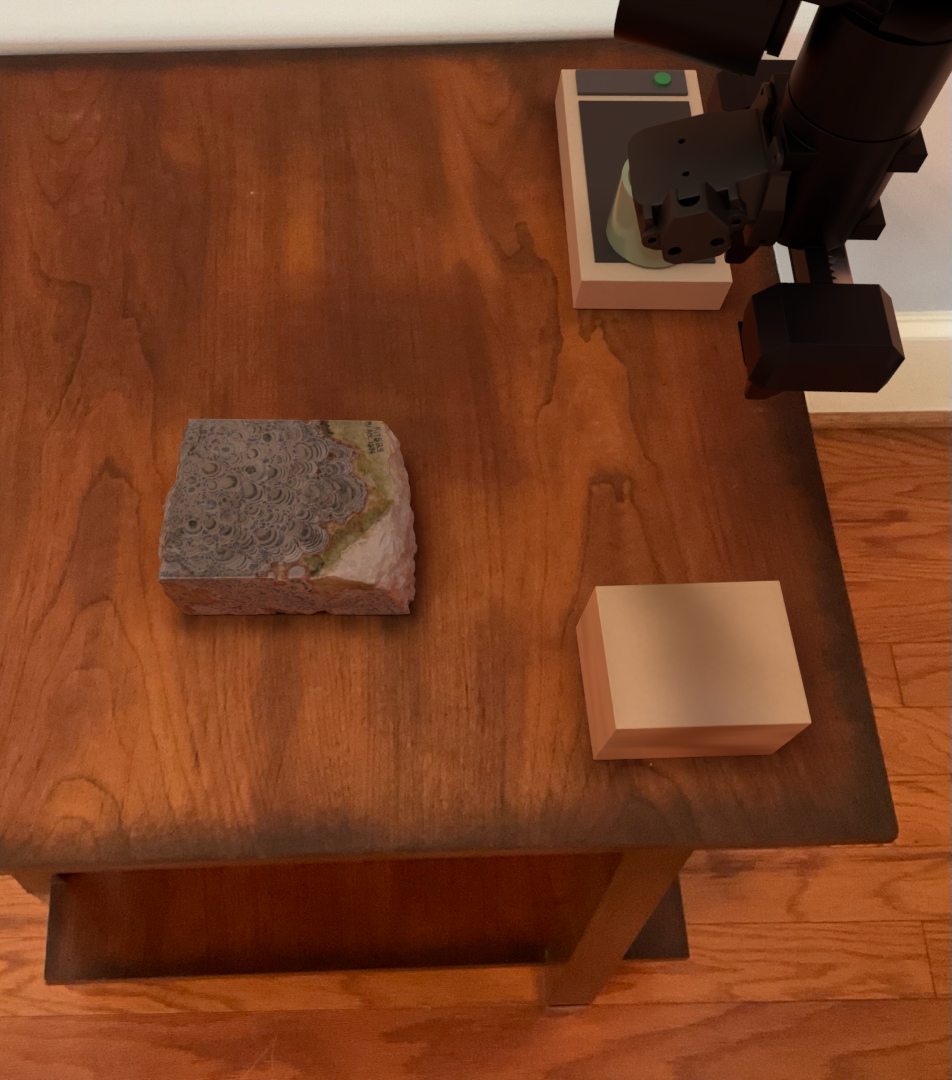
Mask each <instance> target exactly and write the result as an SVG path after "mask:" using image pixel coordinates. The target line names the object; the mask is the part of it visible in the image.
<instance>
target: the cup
mask: <svg viewBox="0 0 952 1080" xmlns="http://www.w3.org/2000/svg"><path fill="white" fill-rule="evenodd" d="M606 235H607V238H608V241H609V243H610V245H611V246H612V248H613V249H614V250H615V251H616V252H617V253H618V254H619V255H620V256H621V257H623V258H624V259H626V260H628V261H629V262H632V263H634V264H637V265H640V266H644V267H652V268H659V267H667V266H671V265H674V264H671V263H668V262H666V261H664V259H663V255H662V250H652V249H649V248H646V247H644V246H643V245H642V242H641V236H640V231H639V226H638V221H637V216H636V211H635V206H634V202H633V197H632V190H631V180H630V170H629V161H628V159H627V161H626V162H625V164H624V166H623V169H622V173H621V176H620V179H619V183H618V186H617V190H616V193H615V197H614V200H613V203H612V207H611V210H610V214H609V217H608V221H607V225H606Z"/></svg>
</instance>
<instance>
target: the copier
mask: <svg viewBox="0 0 952 1080" xmlns="http://www.w3.org/2000/svg"><path fill="white" fill-rule="evenodd" d="M554 104H555V105H554V106H555V117H556V128H557V141H558V149H559V163H560V173H561V185H562V195H563V205H564V206H563V207H564V218H565V229H566V241H567V248H568V249H567V252H568V262H569V263H568V264H569V275H570V285H571V286H570V287H571V297H572V307H573V310H575V309H576V310H577V309H579V310H582V309H583V310H584V309H586V310H590V309H591V310H667V311H668V310H669V311H670V310H674V311H675V310H676V311H678V310H681V311H682V310H684V311H685V310H686V311H720V309H721V307H722V305H723V303H724V302H725V299H726V296H727V295H728V293H729V290H730V289H731V286H732V284H733V276H732V270H731V264H728V263H726V262H725V259H724V253H723V254H722V255H720V256H717V257H712V258H707V259H702V260H697V261H693V262H688V263H683V264H678V265H671V266H667V267H659V268H652V267H644V266H640V265H637V264H634V263H632V262H629V261H628V260H626V259H624V258H623V257H621V256H620V255H619V254H618V253H617V252H616V251H615V250H614V249H613V248H612V246H611V245H610V243H609V241H608V238H607V235H606V225H607V221H608V217H609V214H610V210H611V207H612V203H613V200H614V197H615V193H616V190H617V186H618V183H619V179H620V176H621V173H622V169H623V166H624V164H625V162H626V161H627V159H628V151H627V146H628V142H629V140H630V139H631V137H632V136H633V135H634V134H635V133H637V132H638V131H640V130H642V129H645V128H648V127H651V126H655V125H659V124H663V123H667V122H671V121H675V120H679V119H683V118H687V117H691V116H695V115H699V114H703V113H704V108H703V102H702V96H701V91H700V85H699V79H698V74H697V70H696V69H568V68H567V69H564V68H563V69H561V70H560V74H559V80H558V85H557V89H556V95H555V100H554Z"/></svg>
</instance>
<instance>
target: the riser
mask: <svg viewBox="0 0 952 1080" xmlns="http://www.w3.org/2000/svg"><path fill="white" fill-rule="evenodd" d="M575 633H576V641H577V647H578V656H579V663H580V670H581V677H582V678H581V679H582V686H583V691H584V692H583V693H584V700H585V708H586V715H587V723H588V731H589V737H590V745H591V753H592V759H593V761H607V760H611V761H613V760H638V759H640V760H641V759H666V758H667V759H670V758H671V759H673V758H697V757H698V758H704V757H706V758H707V757H734V756H738V757H739V756H766V755H769V756H770V755H773V754H774V753H776V752H777V751H778V750H779V749H781V748H782V747H783V746H784V745H786V744H787V743H788V742H790V741H791V740H792V739H793V738H795V737H796V736H797V735H799V734H800V733H801V732H802V731H803V730H805V729H806V728H807V727H809V726H810V725H811V724H812V717H811V714H810V709H809V705H808V701H807V696H806V692H805V686H804V683H803V679H802V673H801V669H800V666H799V665H800V664H799V661H798V656H797V653H796V652H797V651H796V648H795V643H794V639H793V634H792V629H791V627H790V621H789V617H788V613H787V609H786V604H785V600H784V596H783V591H782V587H781V583H780V580H756V581H755V580H754V581H724V582H723V581H721V582H719V581H718V582H689V583H688V582H687V583H660V584H659V583H658V584H657V583H656V584H655V583H654V584H628V585H625V584H623V585H622V584H621V585H596V586H595V587H594V589H593V590H592V593H591V594H590V597H589V599H588V601H587V603H586V604H585V607H584V609H583V611H582V613H581V615H580V618H579V620H578V622H577V624H576V626H575Z"/></svg>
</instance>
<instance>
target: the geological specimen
mask: <svg viewBox="0 0 952 1080" xmlns="http://www.w3.org/2000/svg"><path fill="white" fill-rule="evenodd" d="M409 481H410V480H409V474H408V471H407V469H406V467H405V462H404V456H403V454H402V451H401V442H400V441H399V439H398V438H397V437H396V436H395V434H394V432H393V431H392V430H391V429H390V428H389V426H388V424H387V423H385V422H384V421H383V420H351V419H350V420H349V419H348V420H346V419H345V420H344V419H309V420H307V421H306V420H301V419H246V418H245V419H239V418H238V419H237V418H235V419H234V418H230V419H228V418H189V419H188V423H187V424H186V426H185V427H183V431H182V441H181V443H180V445H179V448H178V464H177V465H176V471H175V481H174V483H173V485H172V486H171V488H170V489H169V491H168V492H167V494H166V497H165V502H164V504H163V505H162V506H161V507H162V510H163V519H162V523H161V526H160V533H159V537H158V548H157V555H158V559H159V562H160V566H159V568H158V573H157V583H158V584H161V586H162V591H163V594H164V595H165V596H166V597H167V598H168V599H170V600H171V602H172V603H173V604H174V605H175V607H177V608H178V609H179V610H180V611H181V612H182V613H183V614H185V615H188V616H221V615H222V616H223V615H236V616H256V615H276V614H277V613H282V614H283V613H284V614H285V615H298V614H302V615H314V614H316V613H317V612H322V611H323V612H324V611H325V612H326V613H328V614H330V615H333V616H334V615H338V616H339V615H340V616H341V615H355V616H357V615H359V616H362V615H368V616H369V615H374V616H375V615H376V616H377V615H380V616H381V615H382V616H383V615H388V616H401V615H408V614H409V615H410V614H411V610H410V608H409V605H410V603H412V602H414V601H415V595H416V588H415V584H416V580H417V579H416V577H415V575H414V574H415V570H416V560H415V554H417V552H418V545H417V543H416V534H415V531H414V522H415V513H414V511H413V510H412V507H411V505H410V504H411V499H412V497H411V495H412V494H411V486H410V483H409Z"/></svg>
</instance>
